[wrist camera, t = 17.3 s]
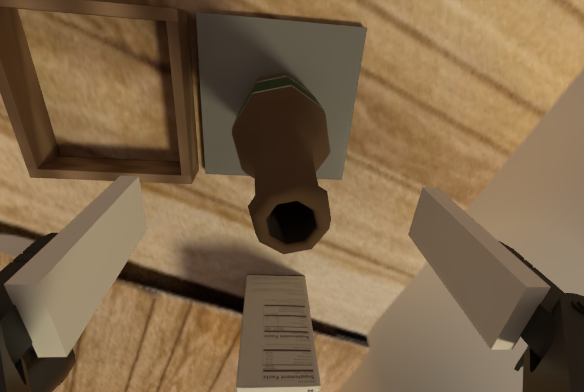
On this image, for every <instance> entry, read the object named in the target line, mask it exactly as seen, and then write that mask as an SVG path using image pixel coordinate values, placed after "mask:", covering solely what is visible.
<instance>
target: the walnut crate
mask: <svg viewBox="0 0 584 392" xmlns="http://www.w3.org/2000/svg"><path fill="white" fill-rule="evenodd" d="M17 8H18V9H29V10H41V11H52V12H64V13H75V14H87V15H98V16H110V17H121V18H133V19H144V20H155V21H166V26H167V36H168V46H169V56H170V66H171V76H172V85H173V95H174V105H175V115H176V125H177V135H178V145H179V155H180V162H171V161H150V160H129V159H108V158H86V157H65V156H60V154H59V150H58V147H57V143H56V140H55V136H54V133H53V130H52V126H51V123H50V119H49V116H48V113H47V109H46V106H45V102H44V99H43V95H42V92H41V89H40V85H39V82H38V78H37V75H36V71H35V68H34V65H33V61H32V58H31V54H30V51H29V47H28V44H27V41H26V37H25V34H24V30H23V27H22V23H21V20H20V17H19V13H18V10H17ZM0 93H1V95H2V98H3V101H4V104H5V107H6V110H7V113H8V115H9V118H10V121H11V124H12V127H13V130H14V132H15V135H16V138H17V141H18V144H19V147H20V149H21V152H22V155H23V158H24V161H25V164H26V167H27V169H28V172H29V175H30V177H31V178H56V179H81V180H105V181H115V180H116V179H117V178H118V177H119V176H139V181H140V182H154V183H179V184H192V182H193V180H194V178H195V176H196V175H197V173H198V171H199V166H198V152H197V138H196V124H195V110H194V96H193V81H192V67H191V53H190V39H189V25H188V12H187V11H183V10H180V9H176V8H165V7H154V6H143V5H132V4H121V3H110V2H99V1H88V0H0Z"/></svg>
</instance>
